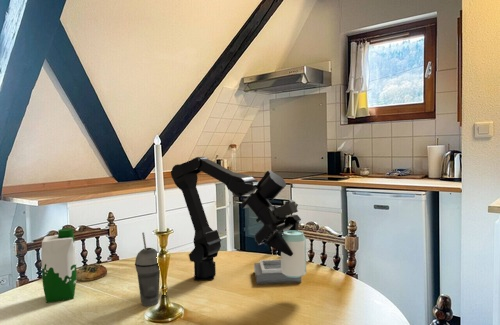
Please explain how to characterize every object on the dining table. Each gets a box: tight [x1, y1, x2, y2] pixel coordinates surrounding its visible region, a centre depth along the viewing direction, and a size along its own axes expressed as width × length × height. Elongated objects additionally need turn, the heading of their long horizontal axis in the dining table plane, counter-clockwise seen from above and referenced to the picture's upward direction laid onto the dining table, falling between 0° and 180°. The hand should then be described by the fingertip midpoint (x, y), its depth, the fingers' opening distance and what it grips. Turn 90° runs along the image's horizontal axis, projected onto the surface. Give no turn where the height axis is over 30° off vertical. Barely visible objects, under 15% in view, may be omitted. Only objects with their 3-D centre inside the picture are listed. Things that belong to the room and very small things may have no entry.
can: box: [280, 230, 307, 278], centre depth 105 cm, size 7×7×12 cm
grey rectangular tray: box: [253, 258, 302, 285], centre depth 122 cm, size 14×12×4 cm
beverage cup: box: [134, 232, 161, 307], centre depth 104 cm, size 7×7×20 cm
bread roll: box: [76, 263, 108, 282], centre depth 128 cm, size 11×11×5 cm
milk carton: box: [40, 227, 78, 304], centre depth 110 cm, size 9×9×20 cm
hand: (297, 251), depth 104 cm, fingers closed on can, 7 cm apart
